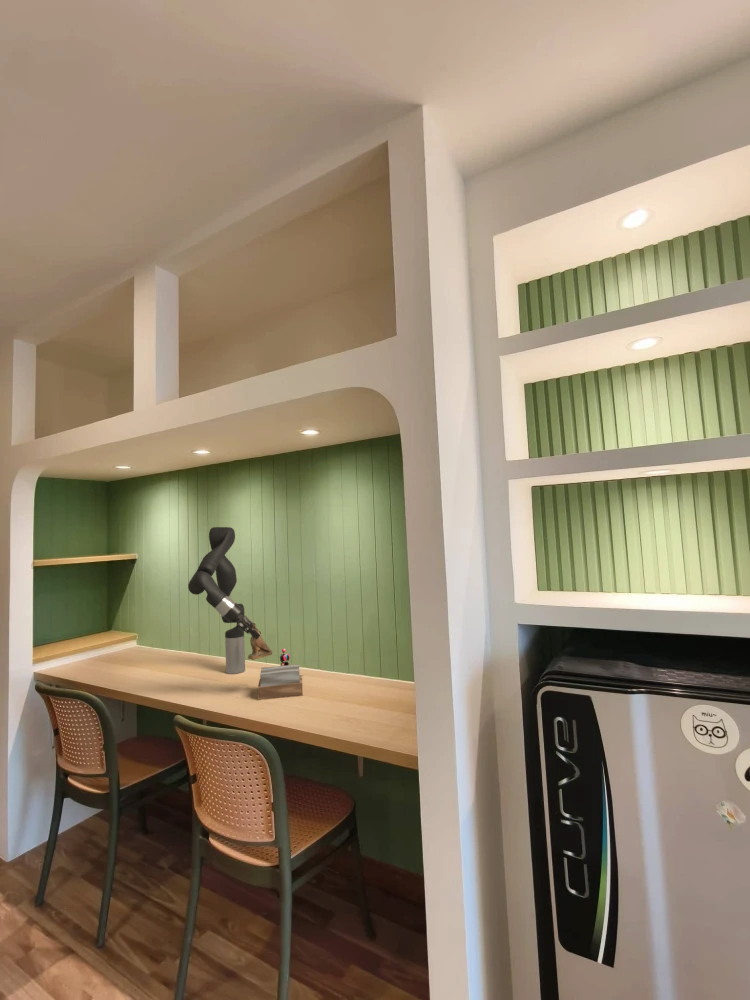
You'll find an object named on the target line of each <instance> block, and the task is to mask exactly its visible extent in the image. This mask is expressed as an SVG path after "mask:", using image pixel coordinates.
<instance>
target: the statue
mask: <svg viewBox="0 0 750 1000" xmlns="http://www.w3.org/2000/svg"><path fill="white" fill-rule="evenodd" d="M281 652H282V654H280V655H279V659H280V662H281V663H280V666H287V665H290V663H289V662H288V661H290V653H286V648H282V649H281ZM301 675H302V674H301ZM302 677H304V675H302Z"/></svg>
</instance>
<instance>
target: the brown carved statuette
mask: <svg viewBox="0 0 750 1000" xmlns="http://www.w3.org/2000/svg"><path fill="white" fill-rule="evenodd" d="M252 627H253V629H254V630H255V631H256V632H258V633H259V634H260V632H261V631H260V630H259V629H258V628H257V625H256V623H254V622H252ZM256 628H257V629H256ZM259 631H260V632H259ZM261 634H262V633H261ZM261 634H260V637H259V638H258V639H255V638H254V637H253V636H252V635H251V634H250V636H251V637H250V640H249V641H250V646H251V650H252V653H250V654H248V658H247V659H249V660H253V661H254V660H257V659H260V658H264V657H269V656H271V655H273V650H272V649H271V648H270V646H268V644H267V642H266V641H265V640H264V638H263V636H262V635H261Z"/></svg>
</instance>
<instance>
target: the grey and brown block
mask: <svg viewBox="0 0 750 1000" xmlns="http://www.w3.org/2000/svg"><path fill="white" fill-rule="evenodd" d="M259 677H260V678H259V681H258V686H257V700H258V701H262V700H263V701H265V700H274V699H284V698H291V697H292V698H293V697H303V696H304V694H303V693H304V692H303V676H302V674H300V664H289V665H287V666H281V665H279V666H278V665H277V666H265V667H261V669H260V674H259Z"/></svg>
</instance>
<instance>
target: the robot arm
mask: <svg viewBox="0 0 750 1000" xmlns="http://www.w3.org/2000/svg"><path fill="white" fill-rule="evenodd" d="M208 531H209V532H208V539H209V545H210V549H211V550H210V551H209V552H208V553H206V554H205V555H204V556H203V558H202V559H201V561H200V562H199V564H198V568H197V569H196V570H195V572H194V574H193V576H192V577H191V579H189V581H188V584H187V585H188V586H187V587H188V591H189V593H191V594H192V595H195V596H196V595H201V594H202V593H203V592H204V591H205V593H206V594H207V595H206V598H205V600H206V602H207V603H208V604H209V605H210V606H211V607H213V608H214V609H215V610H216V611H217V613H218V614H219V615H220V617H221V619H222V622H223V623H224V624H233V623H234V624H235V623H236V626H234V627H233V628H230V629H228V630H226V631H225V632H224V637H225V640H224V645H225V673H226V674H228V675H229V674H230V675H234V674H241V673H243V672H245V671H246V650H245V647H246V646H245V633H246V634H249V635H250V636H251V635H252V636H253V637H254V638H255V639H258V638H259V637H260V634H262V632H261V631H260V630H259V632H260V634H259V633H258V632H256V631H255V630H254V629H253V627H252V623H253V621H252V620H251V619H249V617H248V616H247V615H245V606H244V604H242V603H237V602H236V601H235V600H234V599H232V597H230V596H231V593H232V592H233V590H234V589H235V587H236V585H237V582H238V581H237V580H238V579H237V572H236V568H235V566H234V564H233V563H232V562H231V560H229V558H228V557H227V553H228V551H229V550H230V549H231V547H233V545H234V543H235V539H236V533H235V529H234V528H232V527H230V526H213V527H211V528H210V529H209V530H208ZM214 573H215V575H216V581H215V579H214V578H213V575H214ZM256 629H258V628H257V627H256ZM252 636H251V637H252Z"/></svg>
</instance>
